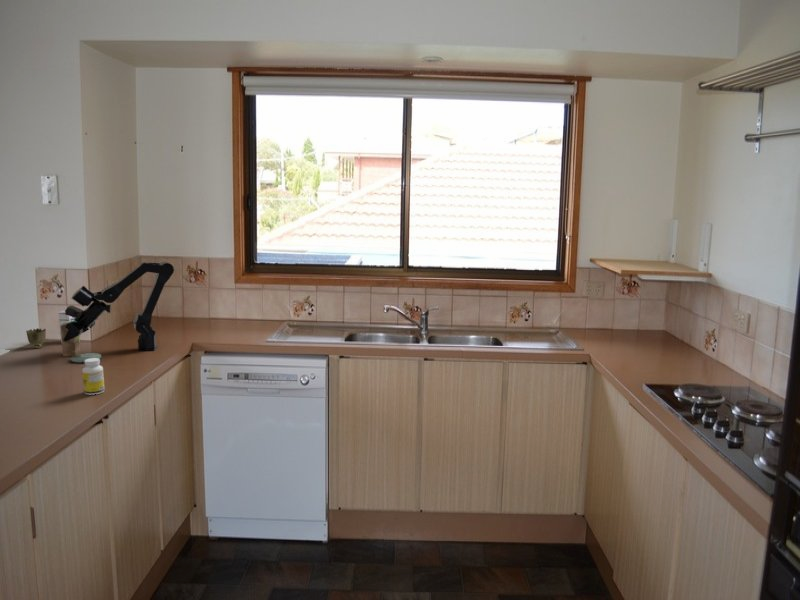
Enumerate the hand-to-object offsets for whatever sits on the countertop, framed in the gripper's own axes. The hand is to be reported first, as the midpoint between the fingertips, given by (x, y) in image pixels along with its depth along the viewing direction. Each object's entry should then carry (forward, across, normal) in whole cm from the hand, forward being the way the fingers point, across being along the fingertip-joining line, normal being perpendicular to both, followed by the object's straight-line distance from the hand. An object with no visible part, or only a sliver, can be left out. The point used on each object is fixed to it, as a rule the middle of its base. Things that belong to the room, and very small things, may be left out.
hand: (66, 339), depth 276 cm
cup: (+17, -13, -8) cm, 23 cm away
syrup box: (+10, -23, 0) cm, 25 cm away
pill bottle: (-15, +53, +25) cm, 61 cm away
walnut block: (+4, 0, +6) cm, 7 cm away
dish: (-3, +9, +12) cm, 15 cm away
